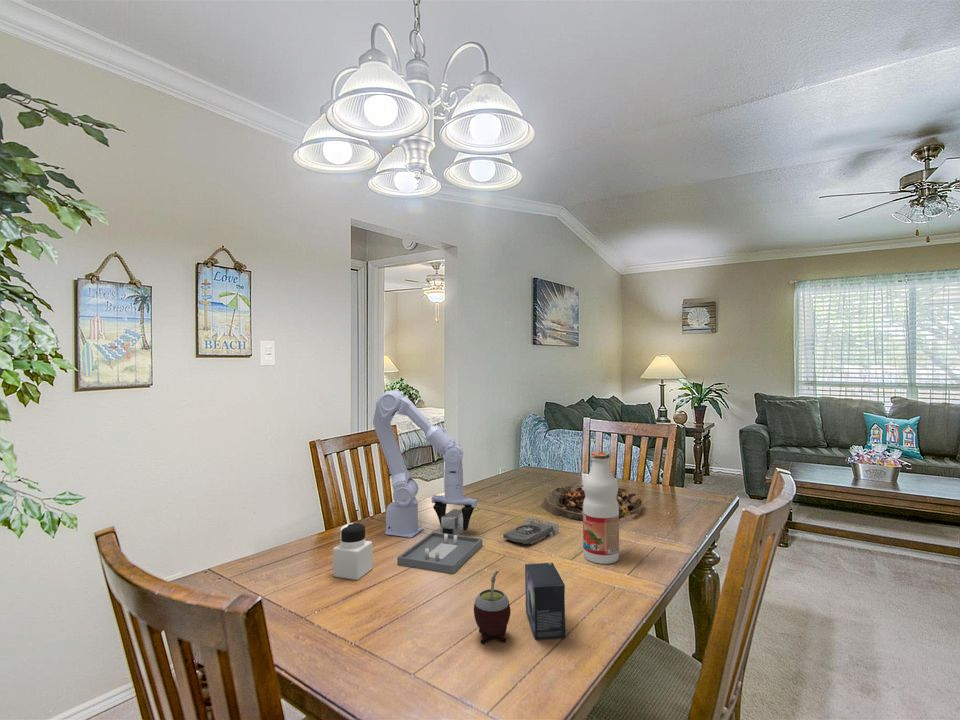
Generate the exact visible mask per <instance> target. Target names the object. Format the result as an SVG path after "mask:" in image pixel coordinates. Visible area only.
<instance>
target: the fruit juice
mask: <svg viewBox="0 0 960 720" xmlns="http://www.w3.org/2000/svg"><path fill="white" fill-rule="evenodd" d="M610 457H611V456H610V453H609V452H608V451H593V452H592V451H591V453H590V460H591V467H590V471H589V473H588V474H587V476H586V477H585V478H584V480H583V482H582V483H583V484H582V486H583V488H582V490H584V493H585V499H584V502H583V520H582V534H583V536H582V537H583V538H582V539H583V540H582V542H583V543H582V546H583V547H582V548H583V549H582V550H583V551H582V552H583V557H584V558H585V559H586V560H587V561H589V562H592V563H595V564H601V565H610V564H614V563H616V562H618V561H619V558H620V519H619V505H618V501H617V498H616V496H617V494H618V488H619V483H618V481H617V479H616V478H615V477H614V476H613V474H612V471H611V468H610V463H609V462H610V459H611V458H610Z"/></svg>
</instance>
